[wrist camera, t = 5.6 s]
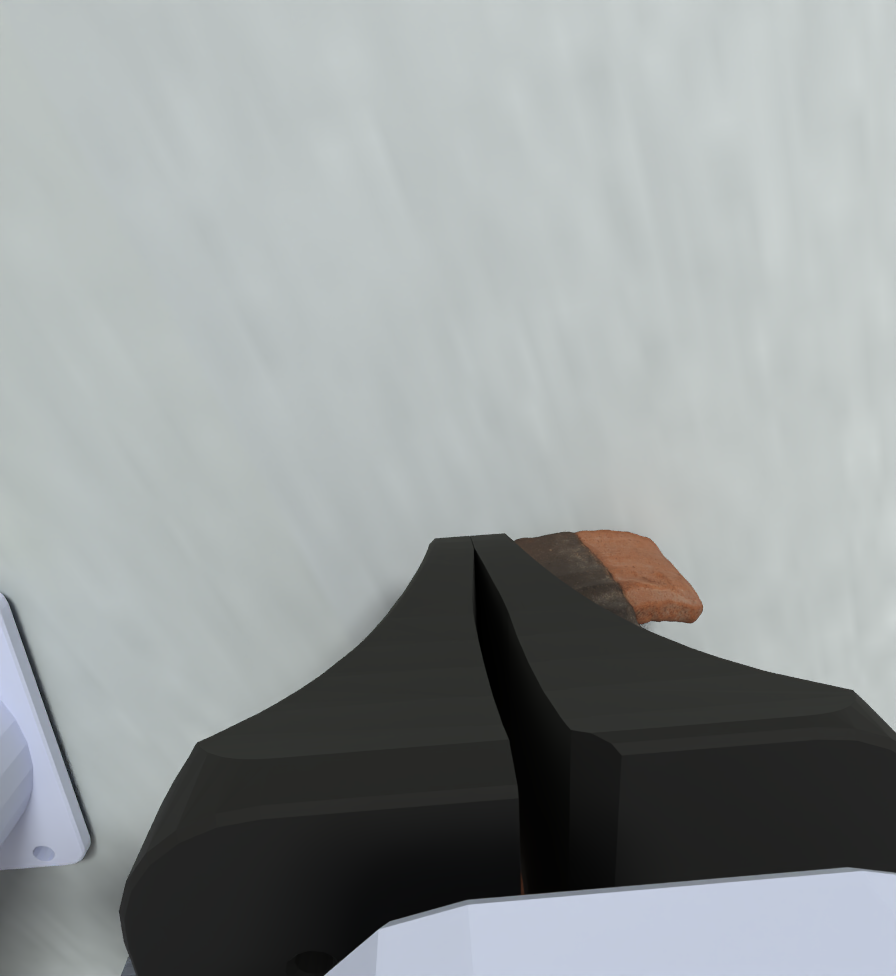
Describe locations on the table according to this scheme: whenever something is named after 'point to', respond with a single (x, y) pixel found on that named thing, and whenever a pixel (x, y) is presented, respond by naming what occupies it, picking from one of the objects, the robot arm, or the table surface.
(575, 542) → the pottery mug
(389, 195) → the table surface
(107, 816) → the table surface
